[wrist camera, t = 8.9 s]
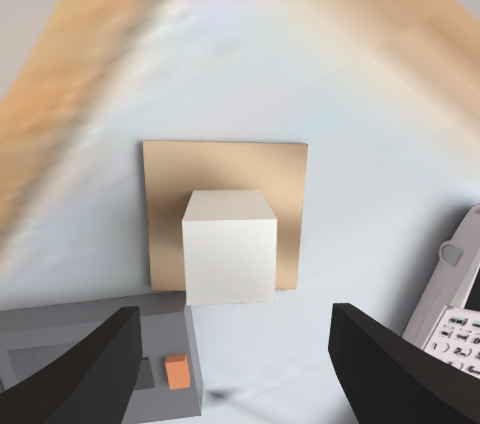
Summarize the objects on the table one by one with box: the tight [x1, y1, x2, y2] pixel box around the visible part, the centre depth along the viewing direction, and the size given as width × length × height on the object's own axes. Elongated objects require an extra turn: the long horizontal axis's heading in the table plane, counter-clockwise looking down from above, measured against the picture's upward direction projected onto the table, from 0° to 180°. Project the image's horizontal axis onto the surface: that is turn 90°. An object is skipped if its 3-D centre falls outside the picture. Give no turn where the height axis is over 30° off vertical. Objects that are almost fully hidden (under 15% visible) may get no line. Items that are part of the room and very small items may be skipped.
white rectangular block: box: [182, 189, 277, 306], centre depth 17 cm, size 4×4×6 cm
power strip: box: [0, 291, 203, 424], centre depth 21 cm, size 16×8×4 cm, turn 96°
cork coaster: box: [143, 140, 308, 291], centre depth 20 cm, size 10×10×1 cm
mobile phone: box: [401, 203, 480, 379], centre depth 21 cm, size 6×6×25 cm
